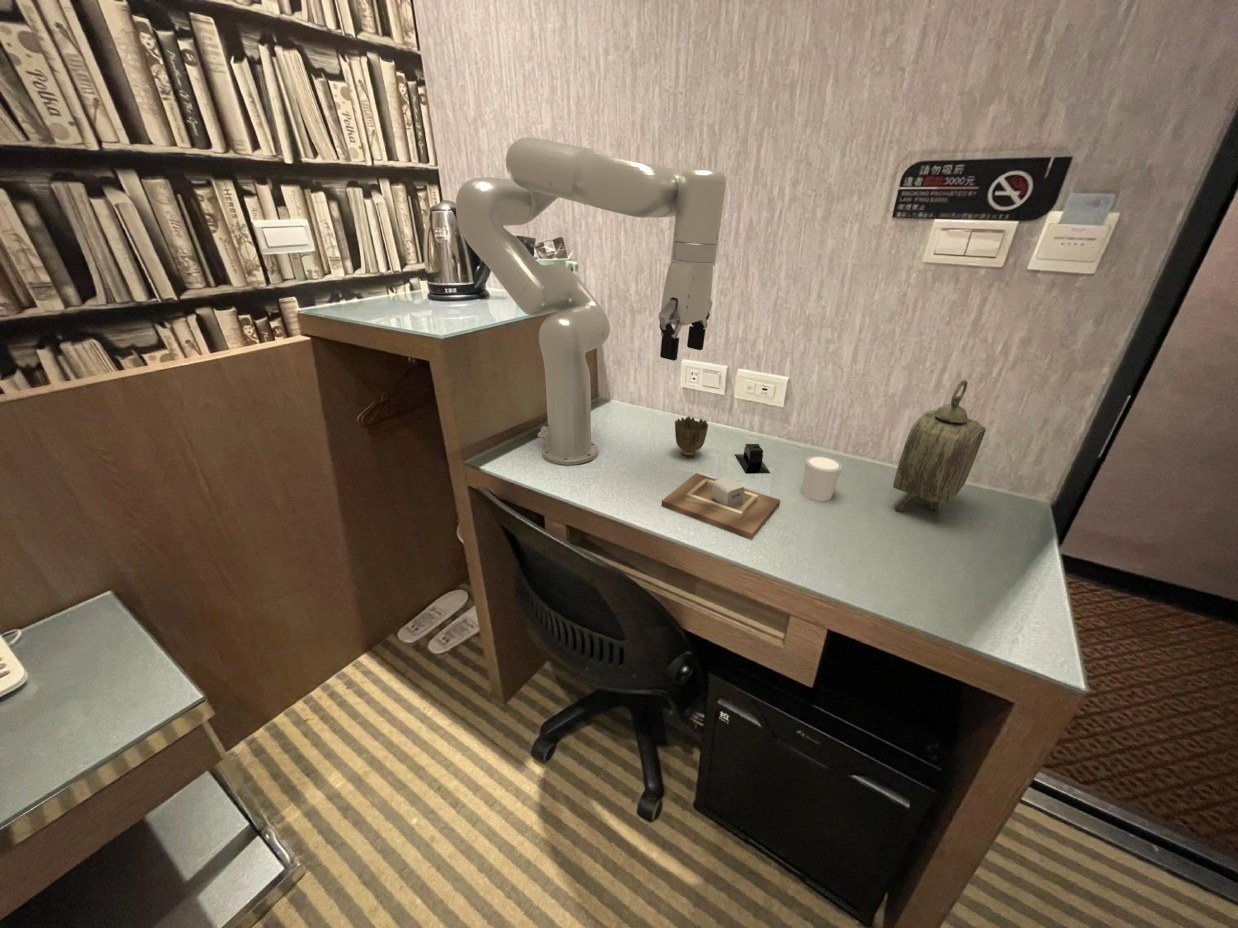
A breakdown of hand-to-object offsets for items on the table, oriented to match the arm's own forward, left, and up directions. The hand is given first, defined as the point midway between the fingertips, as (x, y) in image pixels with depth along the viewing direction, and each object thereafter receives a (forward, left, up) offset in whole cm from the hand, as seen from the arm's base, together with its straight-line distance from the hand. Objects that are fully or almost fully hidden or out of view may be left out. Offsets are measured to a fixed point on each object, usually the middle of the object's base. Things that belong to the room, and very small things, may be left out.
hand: (682, 353), depth 93 cm
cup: (-3, +13, -27) cm, 30 cm away
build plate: (+10, +17, -27) cm, 34 cm away
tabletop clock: (+44, +21, -27) cm, 56 cm away
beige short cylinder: (+26, +13, -27) cm, 40 cm away
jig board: (+13, -3, -27) cm, 30 cm away
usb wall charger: (+13, -3, -26) cm, 29 cm away
